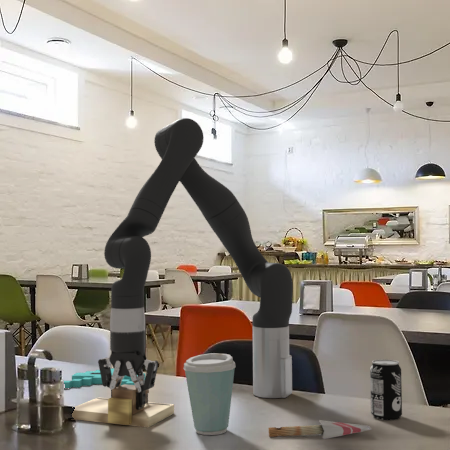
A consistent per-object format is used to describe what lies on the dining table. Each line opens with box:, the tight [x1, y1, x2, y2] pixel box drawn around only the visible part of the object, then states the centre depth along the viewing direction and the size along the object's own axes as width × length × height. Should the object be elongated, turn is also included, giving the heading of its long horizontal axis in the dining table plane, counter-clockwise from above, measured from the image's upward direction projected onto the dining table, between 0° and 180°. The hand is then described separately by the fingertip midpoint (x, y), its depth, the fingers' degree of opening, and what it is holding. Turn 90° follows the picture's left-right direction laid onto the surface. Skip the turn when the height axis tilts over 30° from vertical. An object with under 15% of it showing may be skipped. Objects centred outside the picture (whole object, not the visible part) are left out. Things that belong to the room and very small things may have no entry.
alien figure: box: [63, 367, 146, 389], centre depth 179 cm, size 20×2×20 cm
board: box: [72, 396, 175, 428], centre depth 142 cm, size 20×12×2 cm, turn 68°
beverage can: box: [369, 358, 403, 421], centre depth 139 cm, size 7×7×12 cm
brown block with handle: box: [107, 384, 150, 426], centre depth 140 cm, size 5×13×7 cm, turn 158°
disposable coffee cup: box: [182, 352, 236, 436], centre depth 130 cm, size 11×11×15 cm
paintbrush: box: [268, 419, 372, 439], centre depth 126 cm, size 4×3×20 cm
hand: (128, 407), depth 138 cm, fingers closed on brown block with handle, 5 cm apart
